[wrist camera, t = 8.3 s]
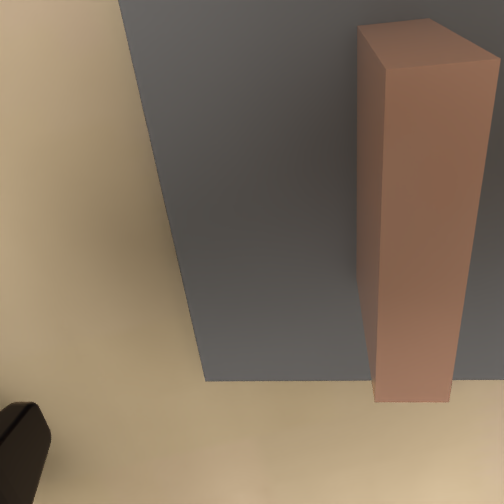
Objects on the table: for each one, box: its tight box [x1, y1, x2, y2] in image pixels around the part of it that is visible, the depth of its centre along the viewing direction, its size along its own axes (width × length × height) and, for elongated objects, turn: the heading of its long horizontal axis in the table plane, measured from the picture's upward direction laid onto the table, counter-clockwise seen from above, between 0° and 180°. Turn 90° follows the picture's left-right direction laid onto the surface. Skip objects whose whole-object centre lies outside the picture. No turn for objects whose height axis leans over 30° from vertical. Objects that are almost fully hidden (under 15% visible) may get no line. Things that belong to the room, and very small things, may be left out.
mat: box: [118, 0, 504, 381], centre depth 16 cm, size 22×14×1 cm, turn 6°
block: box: [356, 18, 501, 402], centre depth 14 cm, size 9×2×6 cm, turn 6°
